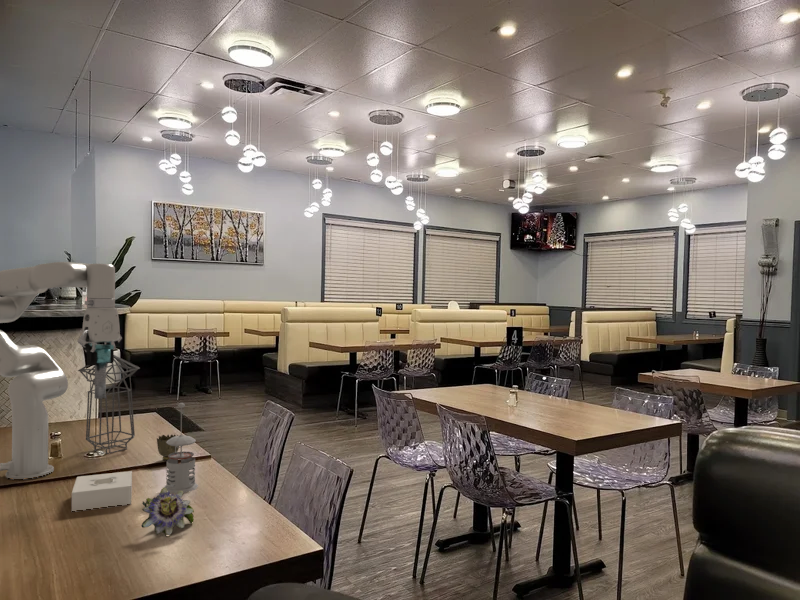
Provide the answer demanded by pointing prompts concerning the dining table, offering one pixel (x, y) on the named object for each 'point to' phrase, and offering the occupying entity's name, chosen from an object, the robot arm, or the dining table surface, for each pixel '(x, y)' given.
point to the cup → (165, 446)
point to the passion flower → (167, 511)
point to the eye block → (102, 490)
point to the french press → (180, 472)
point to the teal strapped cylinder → (101, 369)
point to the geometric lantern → (112, 404)
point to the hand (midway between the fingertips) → (100, 363)
